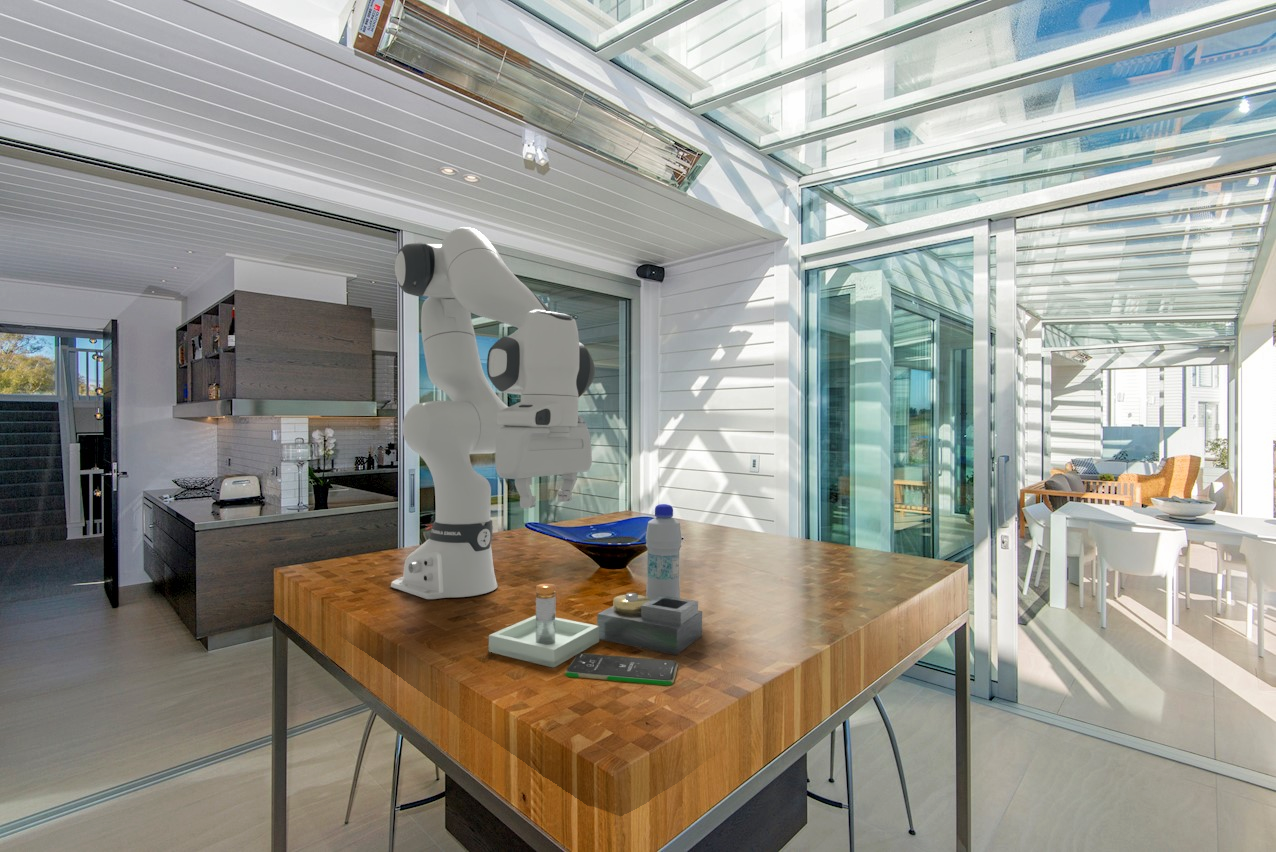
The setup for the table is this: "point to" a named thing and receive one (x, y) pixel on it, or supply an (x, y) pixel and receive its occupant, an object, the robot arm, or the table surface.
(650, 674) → the smartphone
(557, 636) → the tray
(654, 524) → the bottle
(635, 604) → the grey stepped block
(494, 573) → the robot arm
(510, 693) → the table surface
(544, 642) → the lock pin
